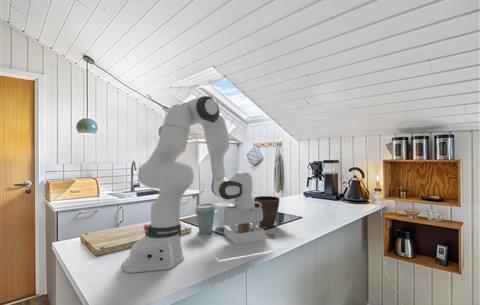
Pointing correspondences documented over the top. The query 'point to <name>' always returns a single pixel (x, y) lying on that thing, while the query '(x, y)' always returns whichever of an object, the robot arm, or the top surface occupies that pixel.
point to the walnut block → (243, 228)
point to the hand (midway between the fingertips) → (243, 232)
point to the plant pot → (268, 209)
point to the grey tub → (244, 234)
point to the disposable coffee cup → (205, 217)
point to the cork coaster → (271, 236)
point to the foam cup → (221, 213)
